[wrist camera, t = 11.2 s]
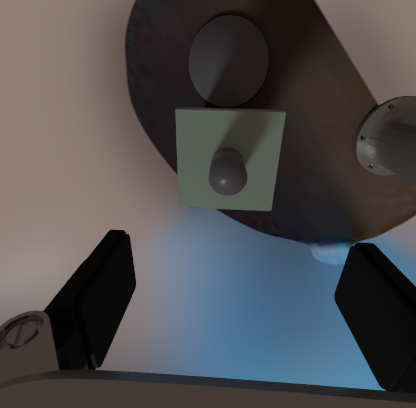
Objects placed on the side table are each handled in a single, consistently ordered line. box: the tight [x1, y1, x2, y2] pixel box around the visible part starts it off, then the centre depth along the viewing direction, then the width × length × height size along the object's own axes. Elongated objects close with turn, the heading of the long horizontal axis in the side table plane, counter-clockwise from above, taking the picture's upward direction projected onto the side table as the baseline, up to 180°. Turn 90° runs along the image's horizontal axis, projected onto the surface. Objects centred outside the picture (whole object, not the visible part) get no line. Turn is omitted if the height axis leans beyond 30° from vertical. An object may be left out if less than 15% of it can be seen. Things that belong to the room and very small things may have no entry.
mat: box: [189, 15, 269, 107], centre depth 37 cm, size 12×12×1 cm
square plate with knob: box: [175, 107, 286, 211], centre depth 23 cm, size 10×10×7 cm
